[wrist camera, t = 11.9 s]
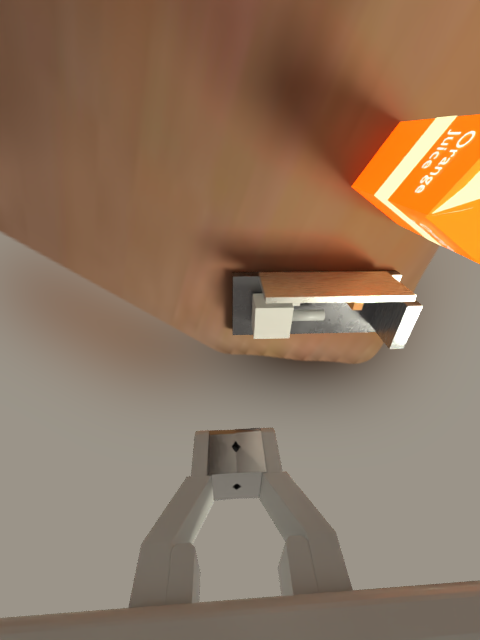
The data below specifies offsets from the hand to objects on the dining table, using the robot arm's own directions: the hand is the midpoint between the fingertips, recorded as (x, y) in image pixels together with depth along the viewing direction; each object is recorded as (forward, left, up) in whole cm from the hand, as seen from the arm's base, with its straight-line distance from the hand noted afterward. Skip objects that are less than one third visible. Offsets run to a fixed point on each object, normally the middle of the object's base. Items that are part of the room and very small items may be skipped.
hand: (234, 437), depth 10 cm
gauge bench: (+13, -11, -29) cm, 34 cm away
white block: (+9, -10, -27) cm, 30 cm away
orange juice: (+21, +6, -29) cm, 37 cm away
